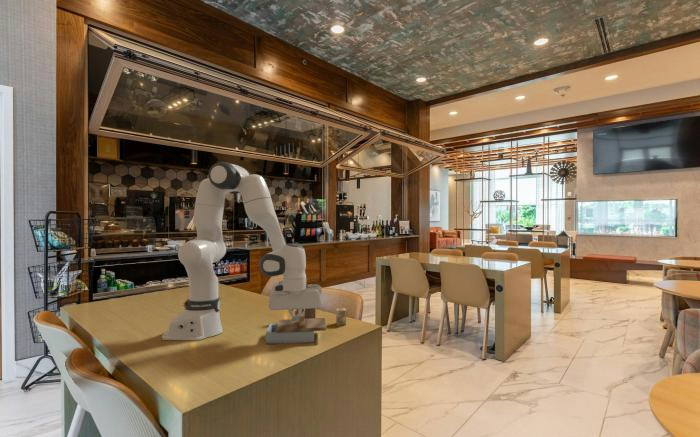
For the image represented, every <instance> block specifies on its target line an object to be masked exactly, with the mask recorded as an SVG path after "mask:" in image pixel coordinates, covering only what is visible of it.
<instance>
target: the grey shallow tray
mask: <svg viewBox="0 0 700 437" xmlns="http://www.w3.org/2000/svg"><path fill="white" fill-rule="evenodd" d="M277 326H278V323H269V325H268V327H267V330H266V332H265V344H266V345H277V344H280V345H281V344H296V343H297V344H298V343H299V344H300V343H301V344H303V343H315V331H304V332H283V333H276V329H277Z"/></svg>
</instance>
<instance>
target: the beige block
mask: <svg viewBox="0 0 700 437" xmlns="http://www.w3.org/2000/svg"><path fill="white" fill-rule="evenodd" d="M335 311H336V312H335V313H336V316H335V318H336V326H337V327H338V326H347V309H346V308H345V307H337V308H336V310H335Z"/></svg>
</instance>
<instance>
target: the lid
mask: <svg viewBox="0 0 700 437" xmlns="http://www.w3.org/2000/svg"><path fill="white" fill-rule="evenodd" d="M277 324H278V326H277V329H276V333H283V332H304V331H314V332H319V331H320V332H323V331H324V332H325V331H327V323H326V318H325V317H320V318H312V319H305V313H301V314H300V316H299V320H296V321H292V318H291V319H289V318H288V319H279V320H278V322H277Z"/></svg>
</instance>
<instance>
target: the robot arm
mask: <svg viewBox="0 0 700 437" xmlns="http://www.w3.org/2000/svg"><path fill="white" fill-rule="evenodd" d="M197 189H198V190H197V193H196V197H195V202H194V203H195V204H194V211H193V219H192V223H193V225H194V227H195V229H196V236H197V238H193V239H190V240H188V241H186V242H185V243H183V244H182V245H180V246H179V248H178V251H177V252H178V253H177V257H178V260H179V261H180V263H181V264H182V265H183V266H184V268H185V271H186V273H187V279H188V285H189V290H188V291H189V294H188V295H189V298H187V299H186V301H184V302H183V305H182V306H183V307H184V309H183V310H181V311H180V312H179V313H178V314H177V315H175V316H174V317H173V318H172V319H171V321H170V322H169V326H168V330H166V331H165V332H164V333H163V334H162V336H161V339H162V340H163V341H201V340H203V339H206V338H211V337H213V336H217V335H220V334H221V333H222V332H224V329H223V326H222V322H221V317H220V316H221V315H220V308H221V300H220V296H219V277H218V276H217V275H216V273H215V271H214V266H213V264H214V263H217V262H218V261H220V260H222V259H223V258H224V257H225V255H226V254H227V247H226V243H225V241H224V235H223V227H222V226H223V216H224V211H225V210H224V208H225V200H226V196H228V194H238V193H239V194H240V196H241V199H242V201H243V202H242V203H243V206H244V211H245V214H246V215H247V217H248V220H250V221H251V223H253V224H256V225H257V226H259V227H260V228H262V229H263V230H264V231H265V232H266V234H267V237H268V240H269V243H270V246H271V249H272V251H271V252H268V253H266V254H264V255H263V256H261V258H260V260H259V263H258V264H259V265H258V266H259V269H260V271H261V273H262V274H263V275H264V276H265V277H269V278H274V277H278V276H283V280H281V281H278V282H275V283H273V285H272V286H271V290H272V291H271V293H270V294H269V300H268V309H269V311H284V310H288V314H289V315H290V317H291V319H292V321H296V320H299V316H300V314H301V312H302V309H304V310H305V309H312V308H315V309H321V308H320V307H322V301H321V299H322V298H321V295H322V293H323V292H322V291H323V290H322V289H323V288H322V286H320V285H319V284H317V283H315V284H309V283H308V284H307V274H306V269H307V258H306V257H307V256H306V251H305V248H304V247H303V245H301V244H297V243H291V242H290V243H289V242H288V243H287V241H286V239H285V235H284V233H283V229H282V225H281V224H280V223H281V222H279V219H278V216H277V214H276V210H275V206H274V204H273V199H272V196H271V193H270V190H269V188H268V185H267V182H266V180H265V179H264V177H263V176H262V175H259V174H254V173H253V174H252V173H251V172H250V171H249V170H248V169H246V168H245V167H242V166H240V165H237V164H234V163H230V162H227V161H226V162H225V161H220V162H216V163H214V164H213V165H211V167H210V169H209V170H208V178H205V179H203V180H201V181H200V183H199V186H198V188H197ZM297 309H298V312H299V313H298V315H295V314H294V313H293V310H297Z"/></svg>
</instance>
